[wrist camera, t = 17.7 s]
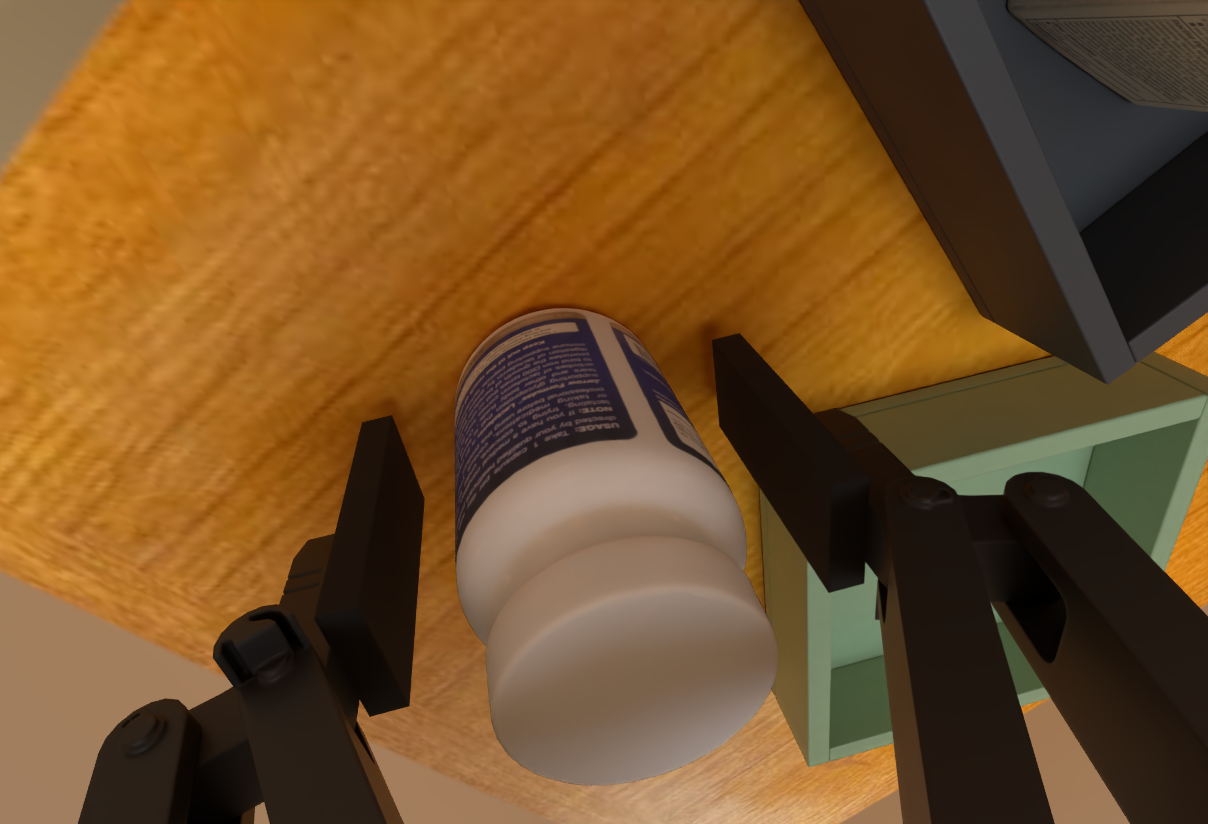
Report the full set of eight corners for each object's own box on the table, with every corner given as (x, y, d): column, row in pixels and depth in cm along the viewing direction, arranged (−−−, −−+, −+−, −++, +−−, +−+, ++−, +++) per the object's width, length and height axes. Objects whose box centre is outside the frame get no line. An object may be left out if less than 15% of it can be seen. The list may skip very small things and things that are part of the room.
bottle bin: (769, 685, 27) (808, 768, 24) (755, 428, 21) (806, 498, 18) (1053, 605, 28) (1126, 676, 25) (1125, 337, 22) (1235, 388, 19)
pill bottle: (439, 468, 19) (425, 815, 11) (474, 281, 17) (491, 541, 8) (626, 490, 21) (740, 805, 12) (683, 322, 18) (874, 574, 10)
